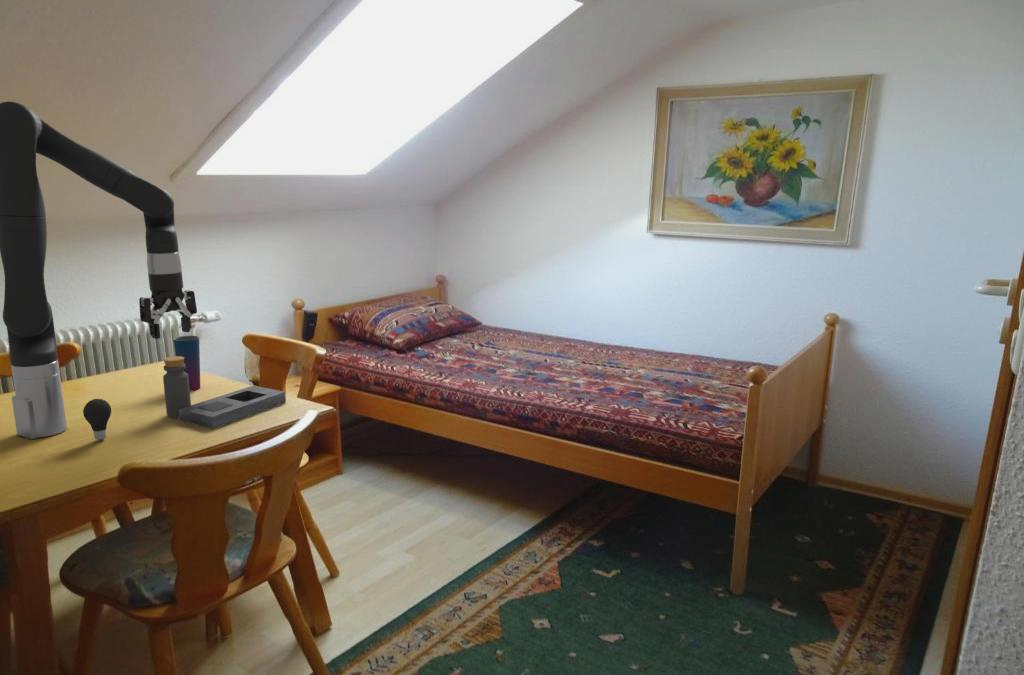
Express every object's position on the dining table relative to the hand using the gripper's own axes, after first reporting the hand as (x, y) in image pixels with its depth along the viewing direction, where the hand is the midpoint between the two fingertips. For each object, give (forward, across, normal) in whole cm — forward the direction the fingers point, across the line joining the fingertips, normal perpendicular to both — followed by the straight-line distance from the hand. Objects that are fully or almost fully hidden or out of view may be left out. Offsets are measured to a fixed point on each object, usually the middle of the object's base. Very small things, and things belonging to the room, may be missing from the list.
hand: (171, 335), depth 180 cm
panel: (+21, +9, -10) cm, 25 cm away
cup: (+21, +17, +17) cm, 32 cm away
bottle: (+21, 0, 0) cm, 21 cm away
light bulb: (+21, -21, 0) cm, 30 cm away
